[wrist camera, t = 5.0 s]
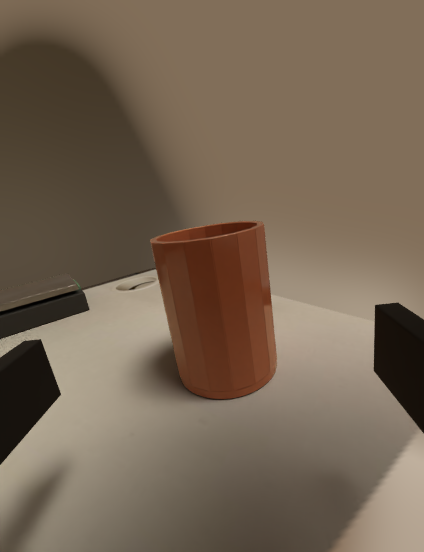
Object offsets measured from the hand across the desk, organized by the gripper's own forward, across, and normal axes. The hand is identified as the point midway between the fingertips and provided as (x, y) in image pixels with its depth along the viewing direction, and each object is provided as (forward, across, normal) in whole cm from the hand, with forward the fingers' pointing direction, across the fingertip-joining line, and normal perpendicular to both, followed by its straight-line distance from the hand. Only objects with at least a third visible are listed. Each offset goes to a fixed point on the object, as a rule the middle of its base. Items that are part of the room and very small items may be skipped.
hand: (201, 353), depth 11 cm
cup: (+8, 0, -6) cm, 10 cm away
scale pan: (+24, -27, -3) cm, 36 cm away
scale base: (+24, -27, -6) cm, 37 cm away
